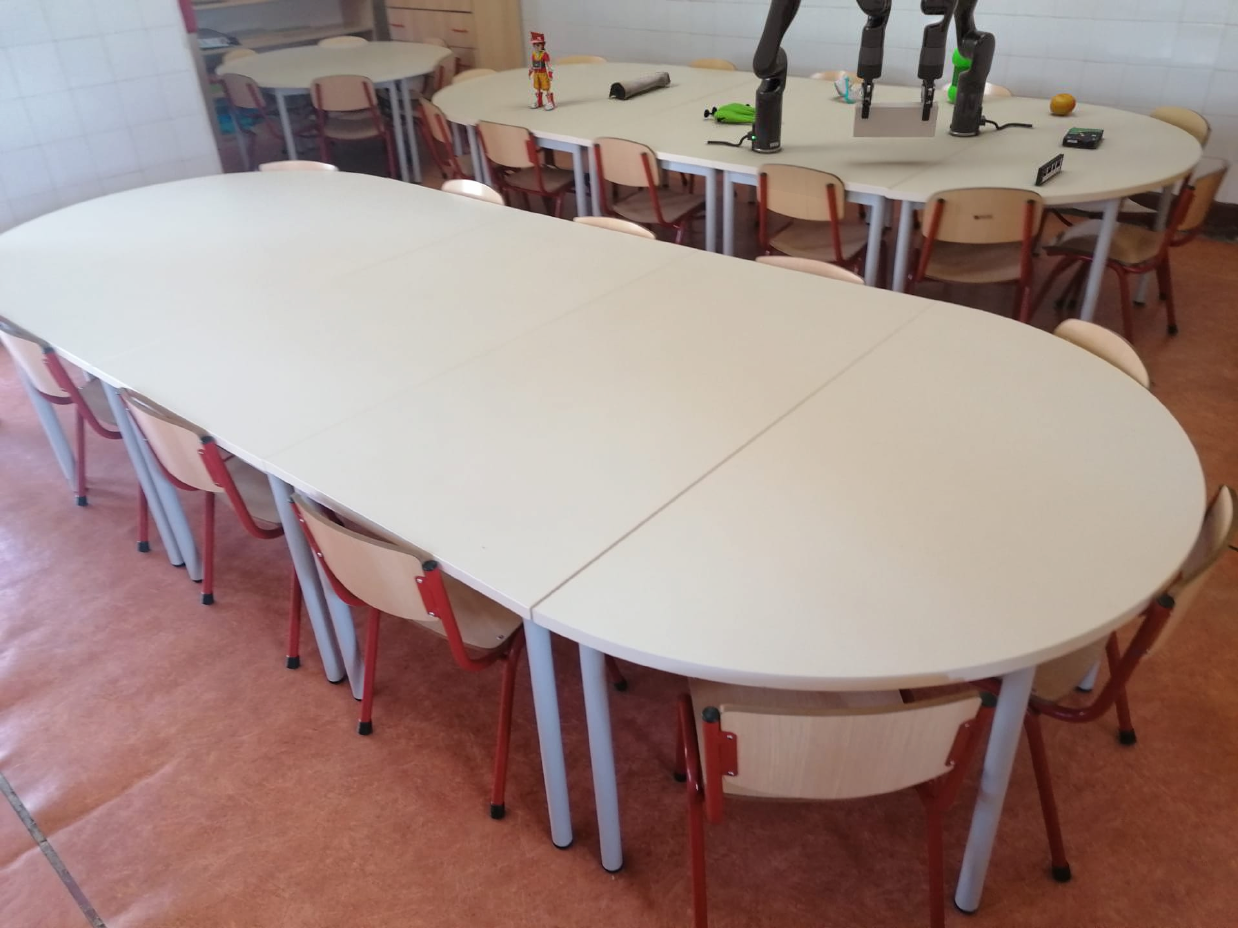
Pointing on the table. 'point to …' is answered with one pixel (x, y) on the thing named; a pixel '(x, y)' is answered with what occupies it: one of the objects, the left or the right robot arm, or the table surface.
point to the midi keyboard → (1049, 169)
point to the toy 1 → (541, 71)
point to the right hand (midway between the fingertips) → (924, 117)
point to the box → (895, 120)
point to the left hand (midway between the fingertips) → (864, 115)
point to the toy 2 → (733, 113)
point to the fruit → (1062, 104)
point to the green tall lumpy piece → (957, 72)
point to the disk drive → (1083, 137)
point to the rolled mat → (638, 84)
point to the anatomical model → (847, 90)
